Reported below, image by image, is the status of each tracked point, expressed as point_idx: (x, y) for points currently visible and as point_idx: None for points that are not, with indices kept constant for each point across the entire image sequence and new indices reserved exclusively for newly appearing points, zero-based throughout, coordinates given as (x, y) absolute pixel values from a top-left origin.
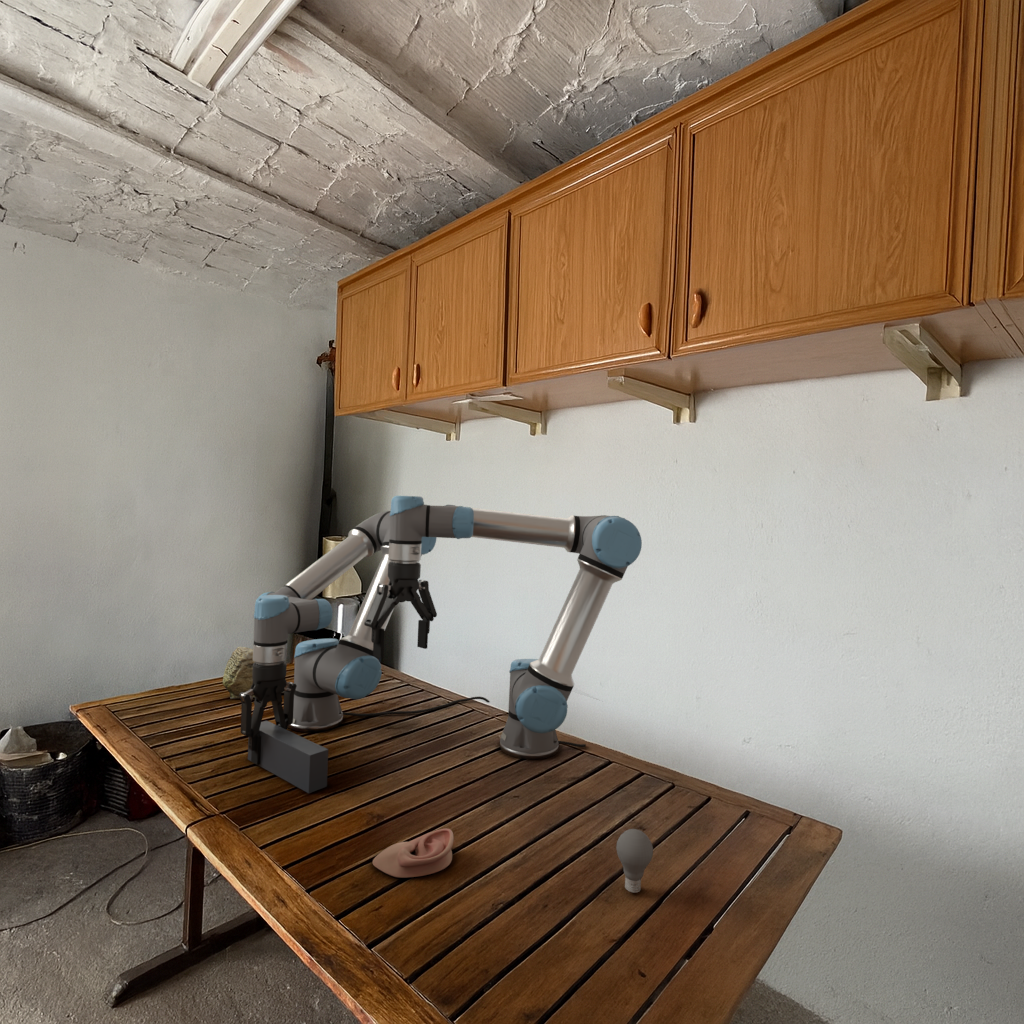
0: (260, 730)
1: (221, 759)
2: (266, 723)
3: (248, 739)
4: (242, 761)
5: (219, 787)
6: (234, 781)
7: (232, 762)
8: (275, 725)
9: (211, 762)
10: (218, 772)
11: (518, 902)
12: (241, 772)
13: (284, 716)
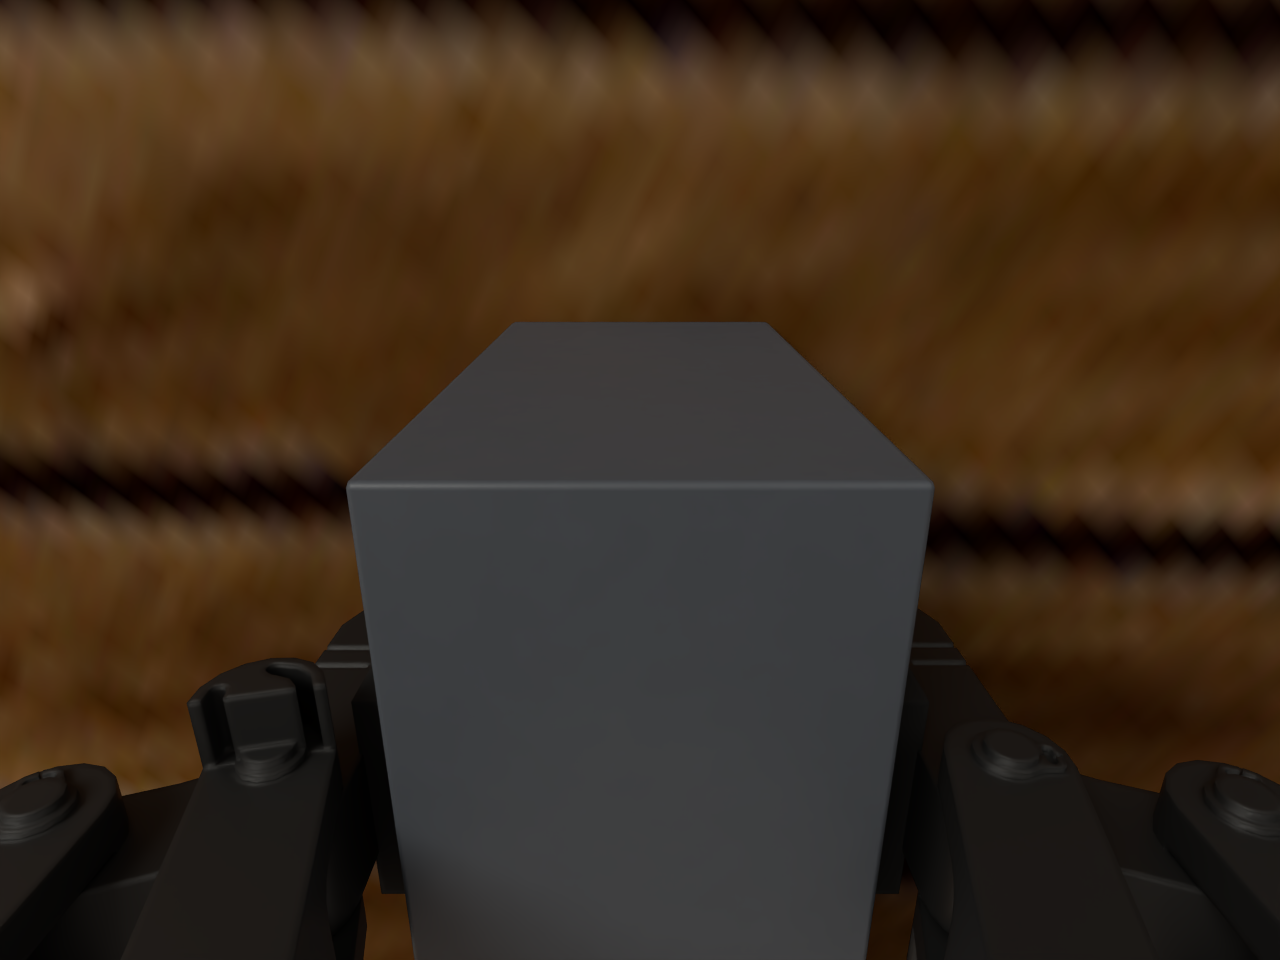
0: (424, 944)
1: (237, 46)
2: (773, 686)
3: (448, 387)
4: (439, 327)
5: (26, 736)
6: (183, 719)
7: (326, 265)
8: (839, 910)
9: (88, 47)
10: (96, 424)
11: None
12: (311, 591)
13: (1266, 952)
